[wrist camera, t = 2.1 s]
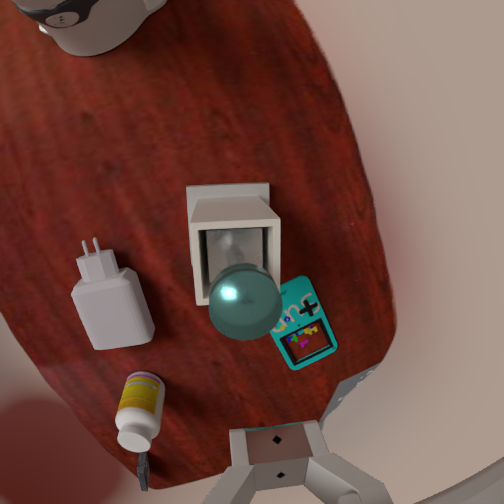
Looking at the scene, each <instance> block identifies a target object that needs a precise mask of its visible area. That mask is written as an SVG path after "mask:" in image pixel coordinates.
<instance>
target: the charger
mask: <svg viewBox="0 0 504 504" xmlns="http://www.w3.org/2000/svg"><path fill="white" fill-rule="evenodd" d="M93 242H94V245H95V248H96V251H97V252H94V253H90V254H89V252H88V248H87V245H86V242H85V241H82V245H83V248H84V251H85V254H86V255H84V256H81V257H79V258H77V259H76V261H77V264H78V267H79V270H80V273H81V276H82V279H81V280H80V281H79V282H78V283H77V284H76V285H75V287H74V289H73V291H72V293H71V296H72V298H73V301H74V303H75V306H76V308H77V311H78V313H79V315H80V318H81V320H82V323H83V325H84V327H85V330H86V332H87V334H88V336H89V338H90V341H91V343H92V345H93V347H94V349H96V350H104V349H112V348H119V347H126V346H133V345H140V344H144V343H147V342H149V341H151V340H152V337H153V334H154V330H155V326H154V323H153V321H152V318H151V315H150V312H149V309H148V306H147V303H146V300H145V297H144V294H143V291H142V288H141V285H140V282H139V279H138V276H137V273H136V272H135V271H133V270H131V269H130V268H128V267H126V268H121V269H118V266H117V263H116V259H115V256H114V253H113V250H102V251H100V248H99V245H98V242H97V238H93Z"/></svg>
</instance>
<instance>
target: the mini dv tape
mask: <svg viewBox="0 0 504 504" xmlns="http://www.w3.org/2000/svg"><path fill="white" fill-rule="evenodd" d="M137 473H138V477H139V482H140V486H141V490H142V491H148V483H149V475H150V468H149V462H148V455H147V451H145V452H139V457H138V464H137Z"/></svg>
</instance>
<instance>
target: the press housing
mask: <svg viewBox="0 0 504 504" xmlns="http://www.w3.org/2000/svg"><path fill="white" fill-rule="evenodd" d="M186 190H187V208H188V223H189V237H190V250H191V262H192V266H193V272H194V283H195V294H196V304H197V305H209V291H210V286H211V284H212V283H210V279H209V265H208V250H207V234H206V229H225V228H246V227H262V252H263V269H265V270H266V271H267V272H268V273H269V274H270V275H271V276H272V278H273V279H274V281H275V284H276V286H277V288H278V290H279V292H280V218H279V217H278V216H277V215H276V214H275V212H274V211H273V210H272V209H271V208H270V207H269V183H267V182H263V183H232V184H210V185H192V186H187V187H186Z"/></svg>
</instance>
